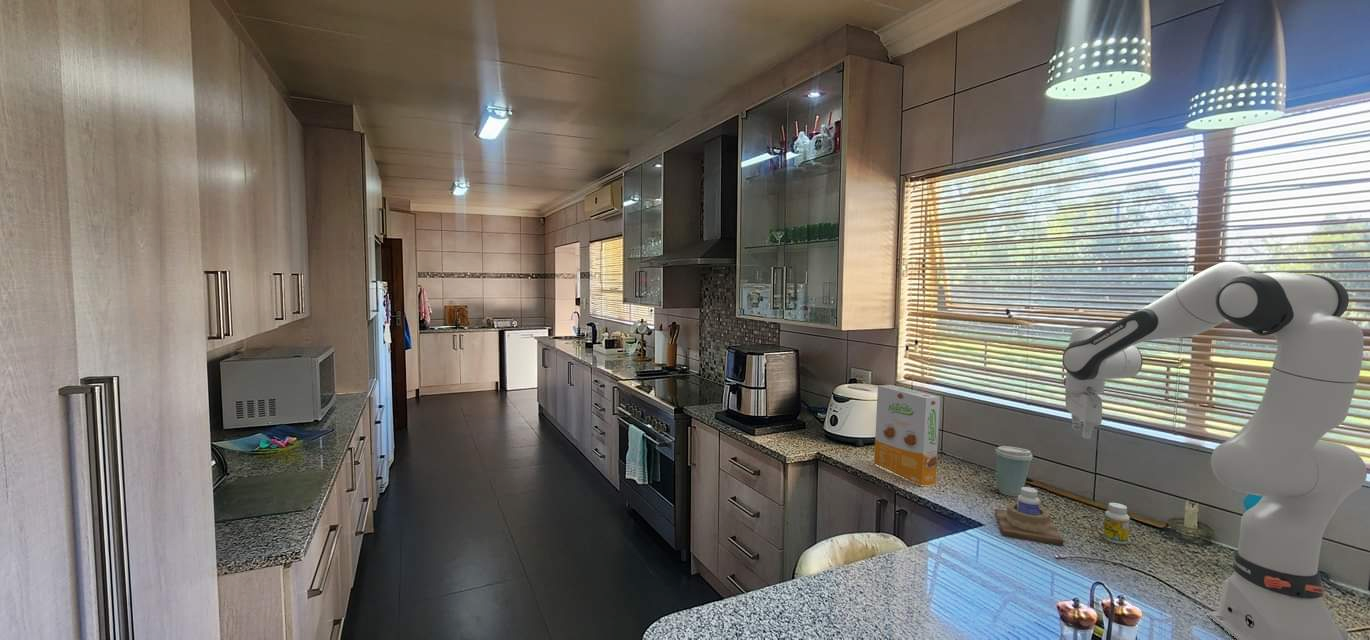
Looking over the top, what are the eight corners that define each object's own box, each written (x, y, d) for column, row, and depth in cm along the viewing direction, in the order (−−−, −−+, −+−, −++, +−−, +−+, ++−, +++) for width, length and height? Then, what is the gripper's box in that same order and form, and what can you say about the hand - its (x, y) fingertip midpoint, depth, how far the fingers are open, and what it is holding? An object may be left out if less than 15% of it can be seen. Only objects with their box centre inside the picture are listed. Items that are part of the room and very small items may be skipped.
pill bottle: (1041, 528, 157) (1044, 493, 157) (1020, 526, 158) (1022, 492, 158) (1034, 520, 163) (1036, 486, 162) (1013, 518, 164) (1015, 485, 163)
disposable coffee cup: (985, 487, 192) (988, 443, 191) (1017, 487, 193) (1020, 443, 192) (1004, 499, 182) (1007, 453, 181) (1037, 499, 182) (1040, 453, 181)
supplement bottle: (1132, 543, 153) (1135, 508, 152) (1118, 545, 151) (1121, 510, 150) (1112, 534, 158) (1115, 500, 157) (1098, 536, 156) (1100, 502, 156)
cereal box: (935, 484, 194) (940, 397, 191) (921, 487, 191) (926, 398, 189) (887, 464, 214) (891, 384, 212) (874, 466, 212) (877, 385, 209)
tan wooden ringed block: (1063, 545, 150) (1064, 525, 150) (1002, 535, 156) (1004, 516, 155) (1049, 522, 165) (1051, 503, 165) (995, 513, 170) (996, 495, 170)
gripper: (1111, 392, 148) (1107, 445, 149) (1087, 380, 167) (1084, 426, 168) (1082, 390, 150) (1078, 442, 151) (1062, 378, 169) (1059, 424, 170)
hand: (1081, 433), depth 160 cm, fingers open, 8 cm apart
